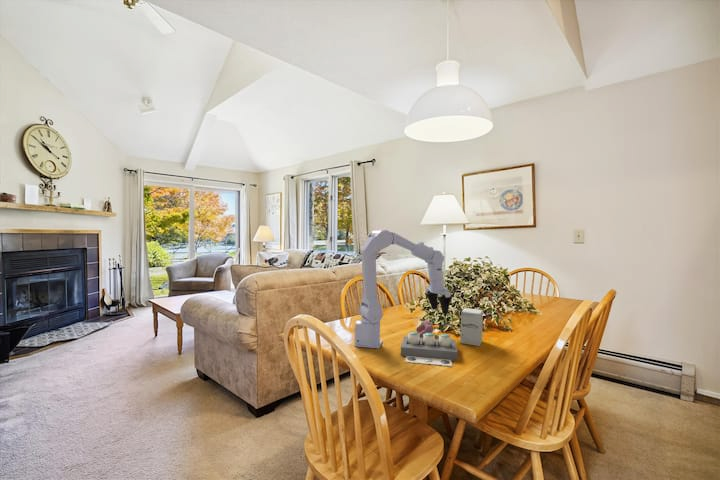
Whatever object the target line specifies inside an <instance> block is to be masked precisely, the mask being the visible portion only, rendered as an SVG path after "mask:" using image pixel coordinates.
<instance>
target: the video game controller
mask: <svg viewBox="0 0 720 480" xmlns="http://www.w3.org/2000/svg"><path fill="white" fill-rule="evenodd" d="M415 332H417V333H419V338H423V334H425V333H432V334H433V332H434V326H433V323H432V321H429V320H425V321H423V322H422V323H421V324H420V325H418V326H417V327H416V328H415Z"/></svg>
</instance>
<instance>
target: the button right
mask: <svg viewBox="0 0 720 480" xmlns="http://www.w3.org/2000/svg"><path fill="white" fill-rule="evenodd" d="M451 338H452V337H451V335H449V334H446V333H440V334H439V335H438V339H439V347H448V348H451V340H452V339H451Z"/></svg>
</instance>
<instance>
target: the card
mask: <svg viewBox="0 0 720 480" xmlns="http://www.w3.org/2000/svg"><path fill="white" fill-rule="evenodd" d="M407 362H410V363H409V364H418V363H420V365H428V364H431V366H439V365H442V366H443V367H450V368H452V367H453V365H452V364H453V363H452V360H447V359H436V358H425V357H414V356H405V361H404V363H407ZM442 366H441V367H442Z"/></svg>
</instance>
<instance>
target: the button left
mask: <svg viewBox="0 0 720 480" xmlns="http://www.w3.org/2000/svg"><path fill="white" fill-rule="evenodd" d="M419 335H420V332H417V331H409V332H408V333H407V337H408V344H412V345H419V338H420V337H419Z"/></svg>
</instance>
